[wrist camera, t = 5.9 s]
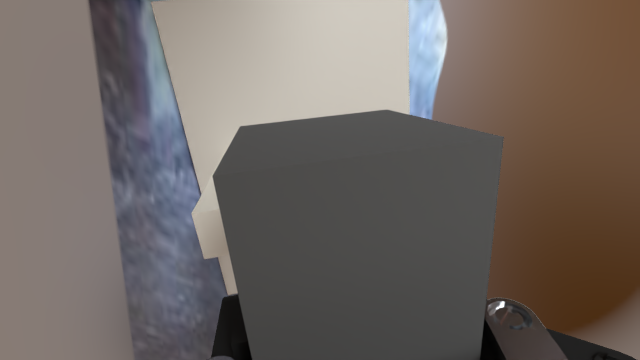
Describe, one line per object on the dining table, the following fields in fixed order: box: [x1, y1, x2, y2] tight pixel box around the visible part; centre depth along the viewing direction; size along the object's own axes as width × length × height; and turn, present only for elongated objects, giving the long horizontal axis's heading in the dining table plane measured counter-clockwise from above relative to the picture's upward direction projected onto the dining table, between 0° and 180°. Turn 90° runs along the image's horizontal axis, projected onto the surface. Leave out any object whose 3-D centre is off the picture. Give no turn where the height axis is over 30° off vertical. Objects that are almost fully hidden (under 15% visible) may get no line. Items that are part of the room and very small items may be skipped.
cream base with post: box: [151, 0, 409, 295], centre depth 25 cm, size 30×22×15 cm
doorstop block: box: [212, 109, 504, 360], centre depth 9 cm, size 8×5×6 cm, turn 5°
